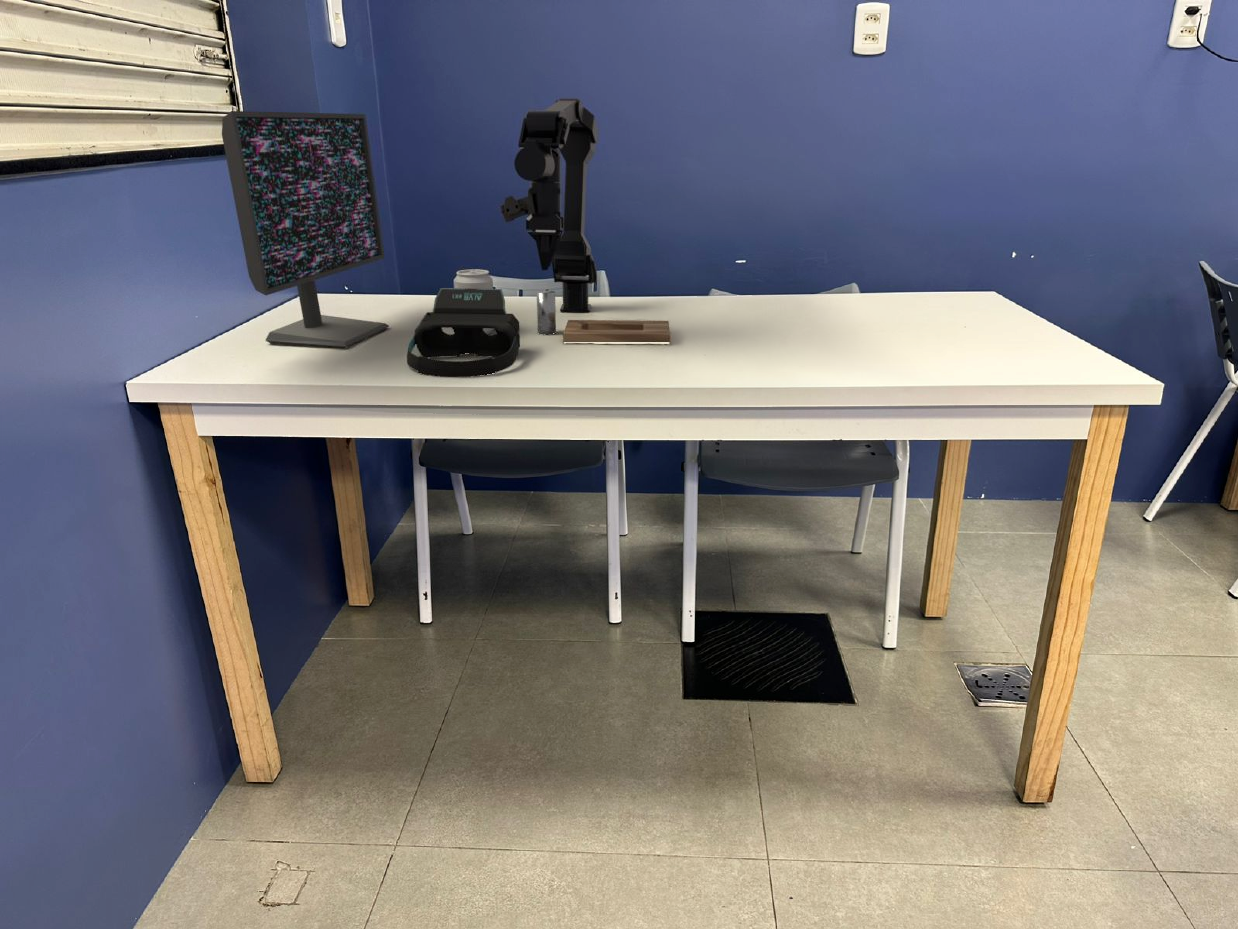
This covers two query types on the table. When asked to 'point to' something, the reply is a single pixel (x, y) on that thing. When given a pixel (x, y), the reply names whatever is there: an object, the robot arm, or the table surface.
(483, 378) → the table surface
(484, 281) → the can
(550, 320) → the peg
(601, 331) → the keyhole board
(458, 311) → the virtual reality headset
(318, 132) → the computer monitor
